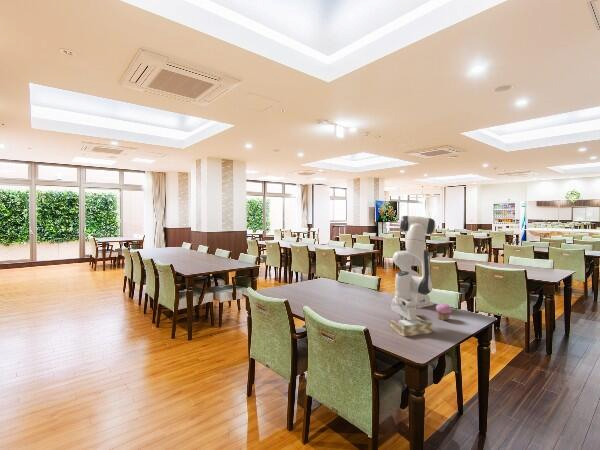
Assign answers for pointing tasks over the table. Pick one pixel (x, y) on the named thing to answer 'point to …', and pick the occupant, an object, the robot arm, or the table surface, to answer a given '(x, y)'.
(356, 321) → the table surface
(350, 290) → the table surface
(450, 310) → the cupcake
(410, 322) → the trolley
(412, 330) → the bay
